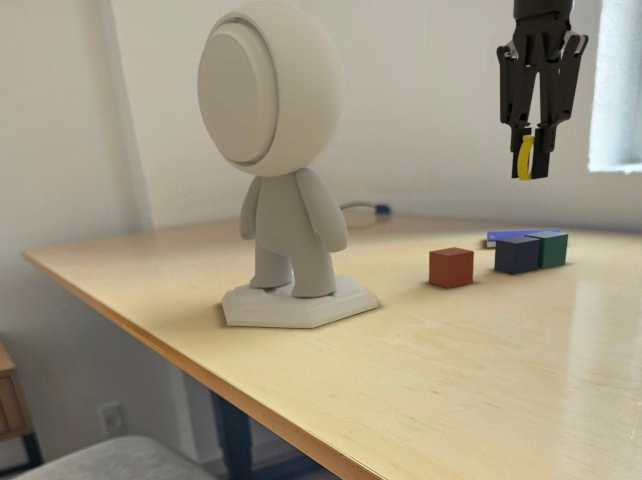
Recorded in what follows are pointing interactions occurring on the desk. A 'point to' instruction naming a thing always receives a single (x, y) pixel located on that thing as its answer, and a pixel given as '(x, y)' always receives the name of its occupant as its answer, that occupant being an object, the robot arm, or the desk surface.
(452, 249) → the block terracotta
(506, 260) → the block navy
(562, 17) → the robot arm
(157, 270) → the desk surface
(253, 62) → the white toy figurine
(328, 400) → the desk surface
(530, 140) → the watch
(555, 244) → the block teal
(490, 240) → the hard drive
